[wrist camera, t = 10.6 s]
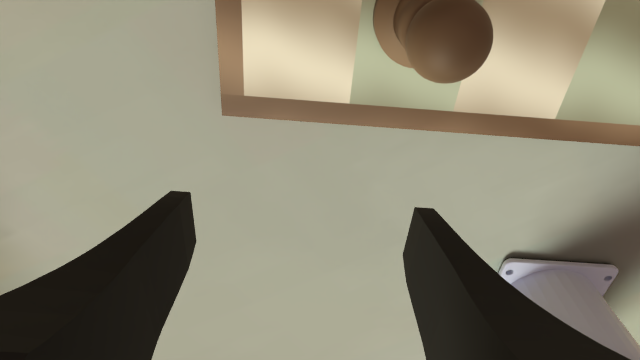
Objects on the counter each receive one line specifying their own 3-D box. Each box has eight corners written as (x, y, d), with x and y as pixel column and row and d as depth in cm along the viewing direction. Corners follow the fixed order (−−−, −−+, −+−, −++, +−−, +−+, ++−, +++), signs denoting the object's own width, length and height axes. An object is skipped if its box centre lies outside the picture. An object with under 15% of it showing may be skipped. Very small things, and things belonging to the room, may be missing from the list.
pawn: (454, 66, 20) (504, 118, 14) (366, 59, 20) (382, 109, 14) (480, -35, 17) (551, -17, 12) (380, -43, 17) (406, -29, 12)
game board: (747, 148, 23) (760, 155, 22) (225, 109, 22) (222, 115, 21) (924, -91, 17) (949, -92, 16) (210, -159, 16) (205, -163, 15)
